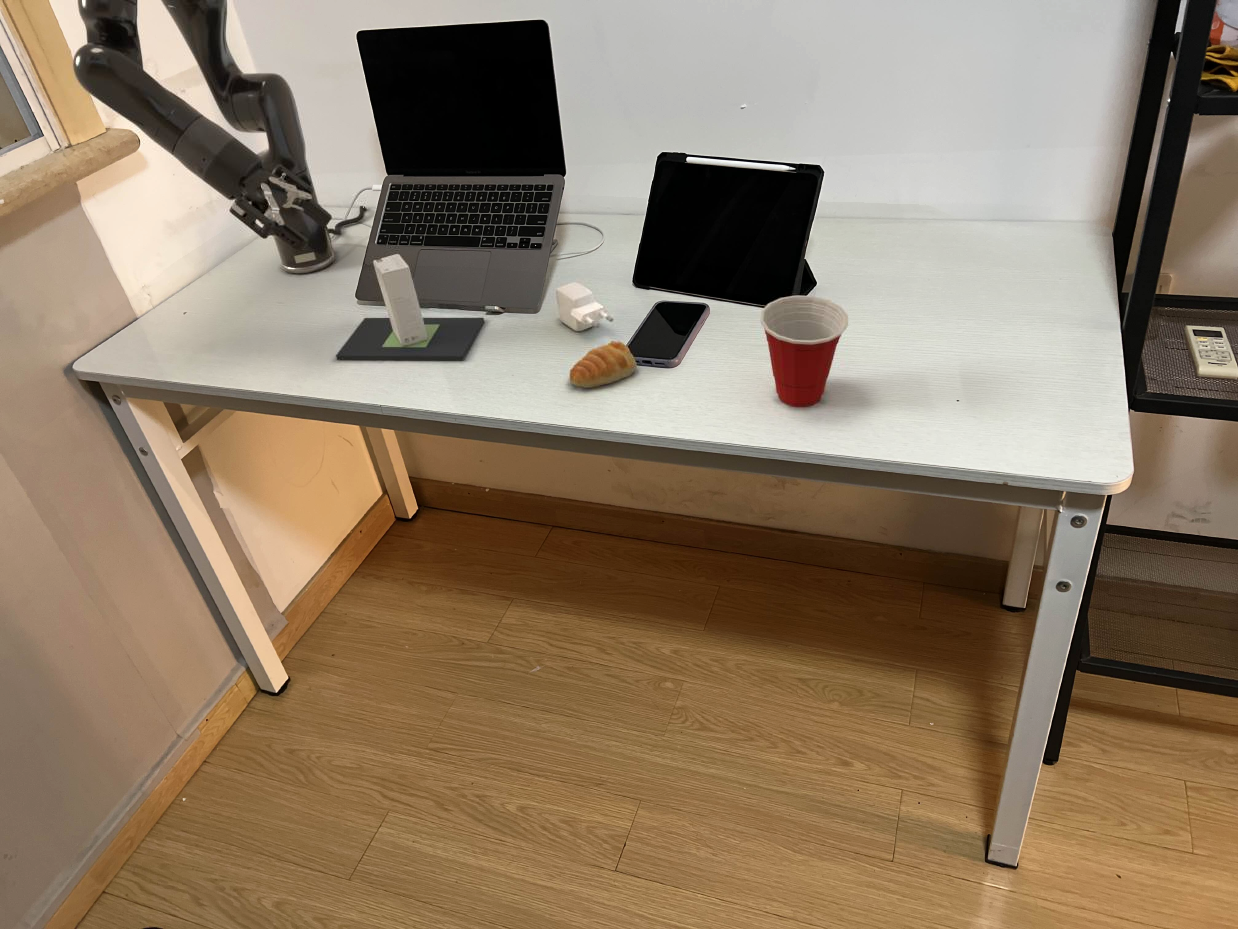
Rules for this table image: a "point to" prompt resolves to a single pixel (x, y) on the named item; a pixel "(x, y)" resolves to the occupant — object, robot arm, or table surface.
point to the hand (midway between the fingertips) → (317, 233)
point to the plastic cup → (802, 345)
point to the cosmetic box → (400, 299)
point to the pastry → (603, 366)
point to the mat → (442, 344)
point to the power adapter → (579, 307)
